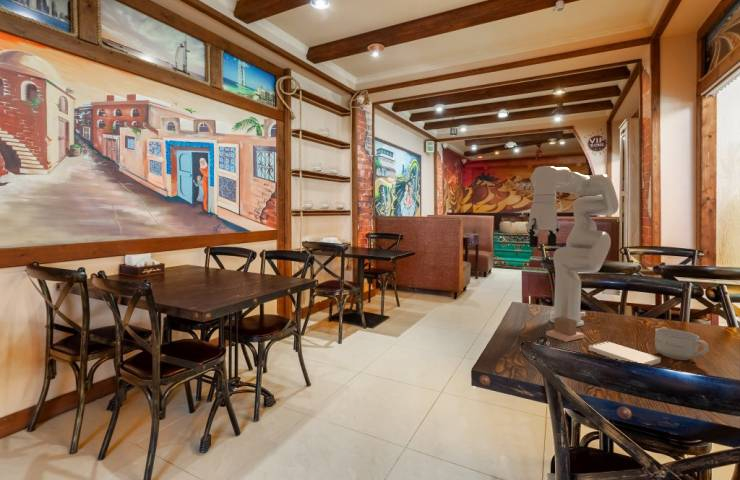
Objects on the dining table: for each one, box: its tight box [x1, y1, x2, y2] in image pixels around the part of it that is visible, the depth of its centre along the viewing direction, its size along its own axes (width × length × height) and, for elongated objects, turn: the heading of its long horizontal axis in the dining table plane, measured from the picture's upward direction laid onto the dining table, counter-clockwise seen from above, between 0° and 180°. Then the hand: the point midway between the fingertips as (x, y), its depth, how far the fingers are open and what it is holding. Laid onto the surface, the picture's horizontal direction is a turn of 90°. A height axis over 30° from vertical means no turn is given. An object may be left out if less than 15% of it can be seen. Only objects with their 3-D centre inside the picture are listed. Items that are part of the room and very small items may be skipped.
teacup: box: [654, 327, 710, 361], centre depth 114 cm, size 14×11×8 cm
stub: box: [545, 317, 585, 343], centre depth 134 cm, size 10×8×6 cm
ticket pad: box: [588, 341, 662, 366], centre depth 116 cm, size 10×16×2 cm, turn 26°
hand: (542, 246), depth 136 cm, fingers open, 9 cm apart
